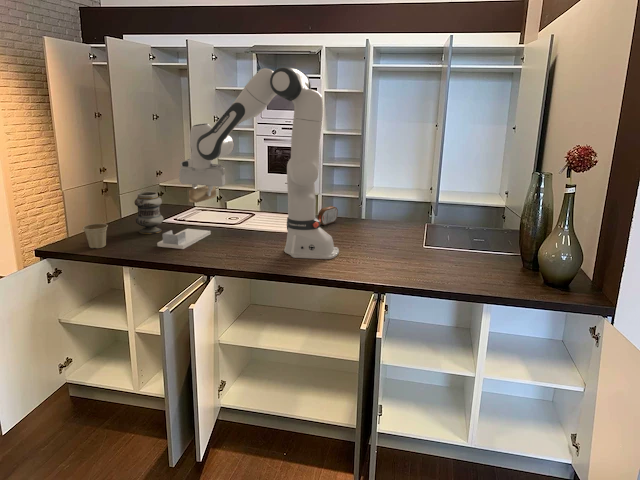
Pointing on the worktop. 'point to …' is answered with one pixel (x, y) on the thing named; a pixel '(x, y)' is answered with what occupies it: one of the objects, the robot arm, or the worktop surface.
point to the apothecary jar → (149, 212)
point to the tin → (328, 215)
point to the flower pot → (96, 235)
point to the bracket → (182, 238)
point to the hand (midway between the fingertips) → (202, 195)
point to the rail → (201, 194)
